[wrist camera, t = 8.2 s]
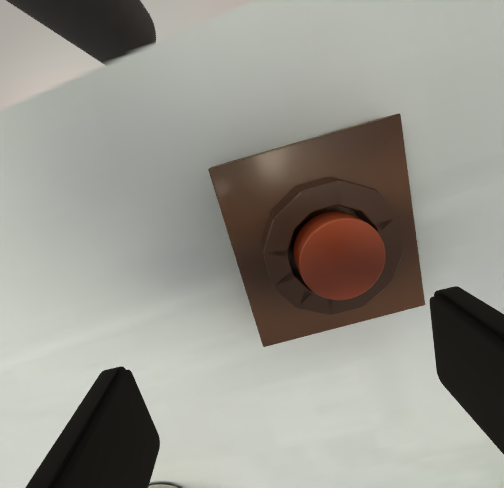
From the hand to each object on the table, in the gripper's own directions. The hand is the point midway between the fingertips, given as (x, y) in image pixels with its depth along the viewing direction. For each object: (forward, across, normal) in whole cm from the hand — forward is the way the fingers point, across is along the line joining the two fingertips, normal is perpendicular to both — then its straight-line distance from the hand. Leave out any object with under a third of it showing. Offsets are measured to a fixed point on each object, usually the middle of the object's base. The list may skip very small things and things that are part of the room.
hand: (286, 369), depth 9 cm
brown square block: (+11, -4, -1) cm, 11 cm away
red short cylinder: (+7, -4, -1) cm, 8 cm away
